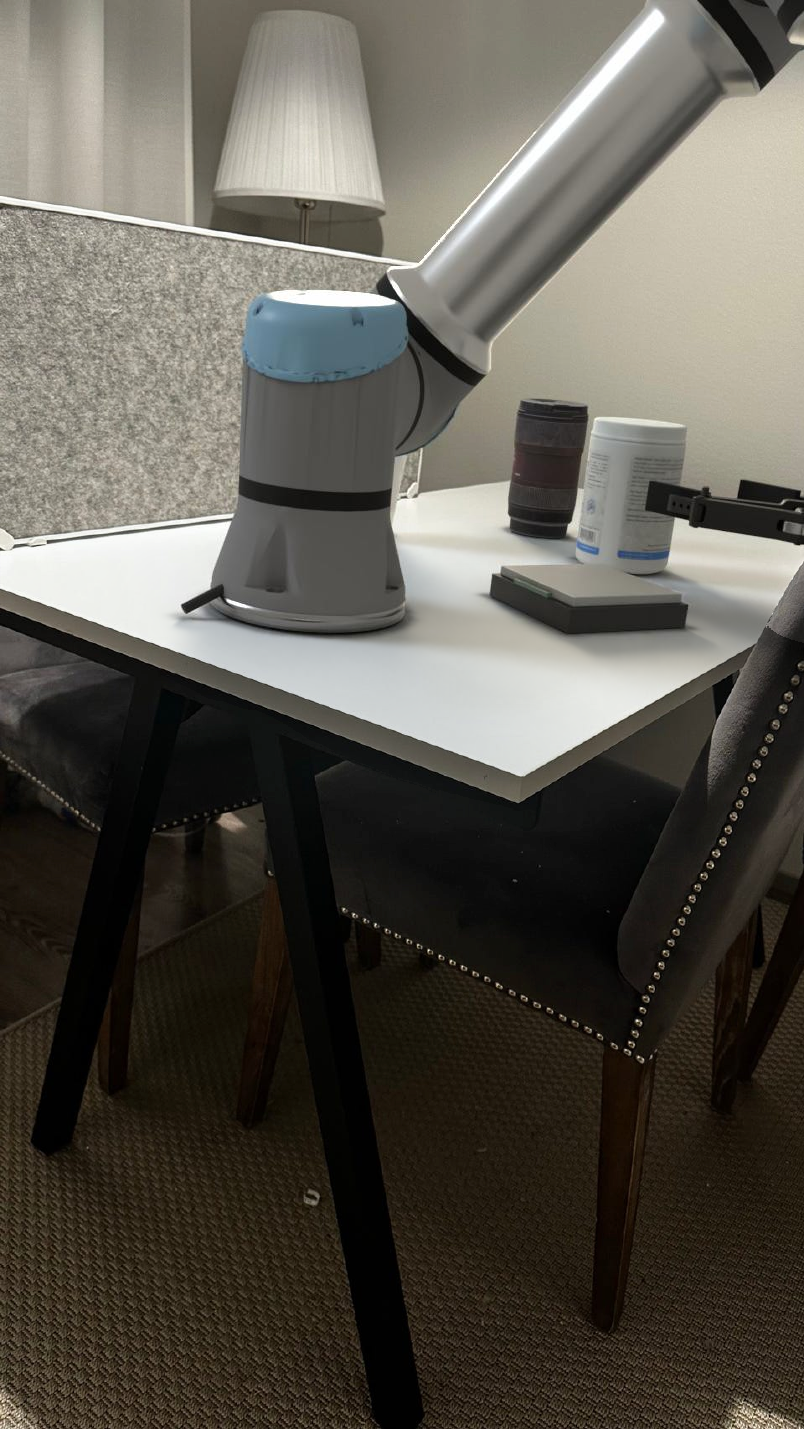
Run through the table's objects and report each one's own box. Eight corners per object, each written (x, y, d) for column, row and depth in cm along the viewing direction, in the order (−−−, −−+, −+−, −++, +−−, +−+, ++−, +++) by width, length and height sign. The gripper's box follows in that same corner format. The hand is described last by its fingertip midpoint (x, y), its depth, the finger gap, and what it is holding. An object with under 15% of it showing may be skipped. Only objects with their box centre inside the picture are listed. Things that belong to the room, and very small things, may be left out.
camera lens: (490, 525, 130) (506, 395, 125) (549, 526, 134) (566, 399, 129) (524, 539, 124) (541, 402, 119) (584, 540, 127) (604, 407, 122)
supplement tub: (673, 566, 117) (698, 425, 112) (656, 581, 108) (682, 429, 103) (585, 551, 120) (605, 413, 115) (562, 565, 112) (583, 417, 107)
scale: (567, 633, 86) (572, 599, 85) (489, 595, 96) (493, 564, 95) (685, 627, 91) (691, 595, 91) (599, 592, 101) (603, 562, 100)
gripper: (803, 593, 84) (601, 538, 99) (965, 574, 98) (766, 528, 114) (825, 495, 81) (614, 453, 97) (987, 490, 96) (781, 455, 111)
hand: (696, 494), depth 105 cm, fingers open, 13 cm apart
